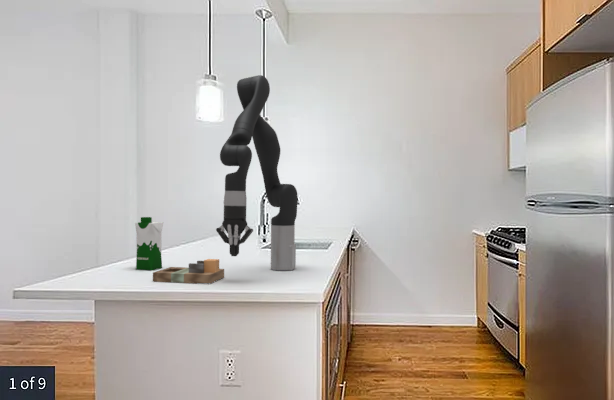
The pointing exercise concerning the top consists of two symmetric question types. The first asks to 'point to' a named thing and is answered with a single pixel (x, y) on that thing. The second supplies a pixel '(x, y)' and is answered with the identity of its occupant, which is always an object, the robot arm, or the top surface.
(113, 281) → the top surface
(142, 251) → the milk carton
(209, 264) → the orange block
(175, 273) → the wooden tray
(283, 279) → the top surface
